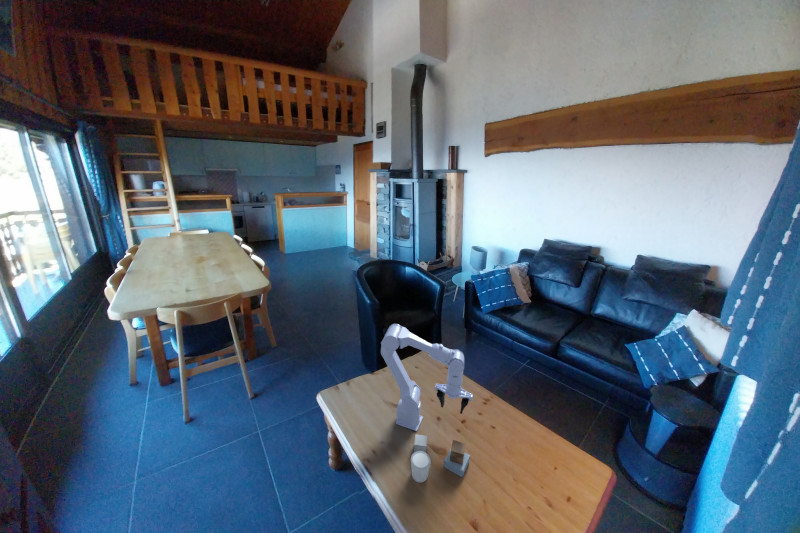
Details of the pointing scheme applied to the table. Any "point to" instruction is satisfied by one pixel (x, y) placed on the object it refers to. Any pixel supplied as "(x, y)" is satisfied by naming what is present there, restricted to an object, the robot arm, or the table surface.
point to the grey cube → (420, 443)
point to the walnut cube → (457, 452)
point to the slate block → (457, 467)
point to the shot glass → (420, 466)
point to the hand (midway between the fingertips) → (451, 408)
